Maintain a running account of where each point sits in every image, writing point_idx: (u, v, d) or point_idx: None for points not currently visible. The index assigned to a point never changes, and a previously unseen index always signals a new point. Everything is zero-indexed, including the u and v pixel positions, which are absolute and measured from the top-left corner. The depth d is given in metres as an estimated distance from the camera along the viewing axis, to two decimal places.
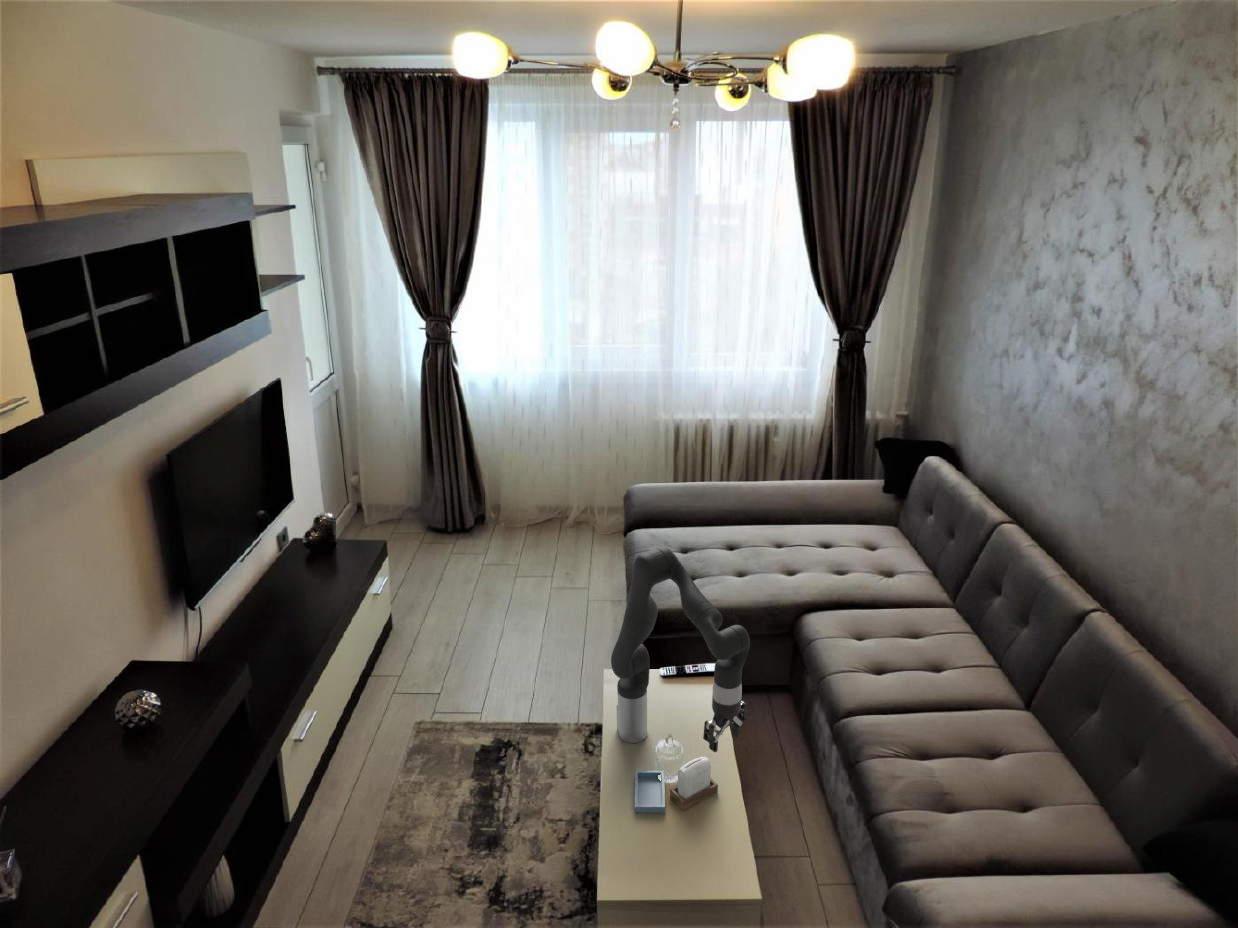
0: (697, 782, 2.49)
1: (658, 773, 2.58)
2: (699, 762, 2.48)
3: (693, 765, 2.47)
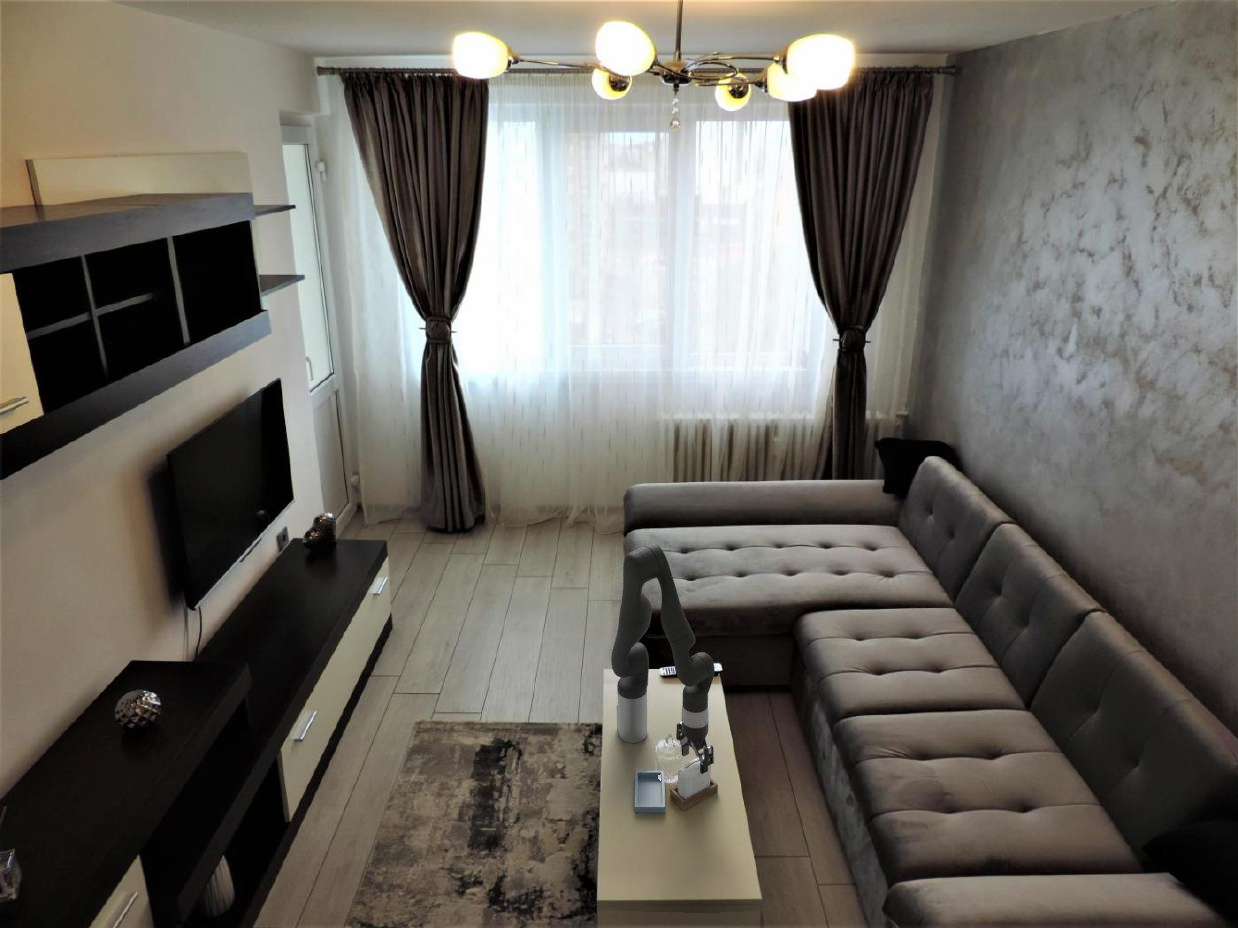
0: (697, 782, 2.49)
1: (658, 773, 2.58)
2: (699, 762, 2.48)
3: (693, 765, 2.47)
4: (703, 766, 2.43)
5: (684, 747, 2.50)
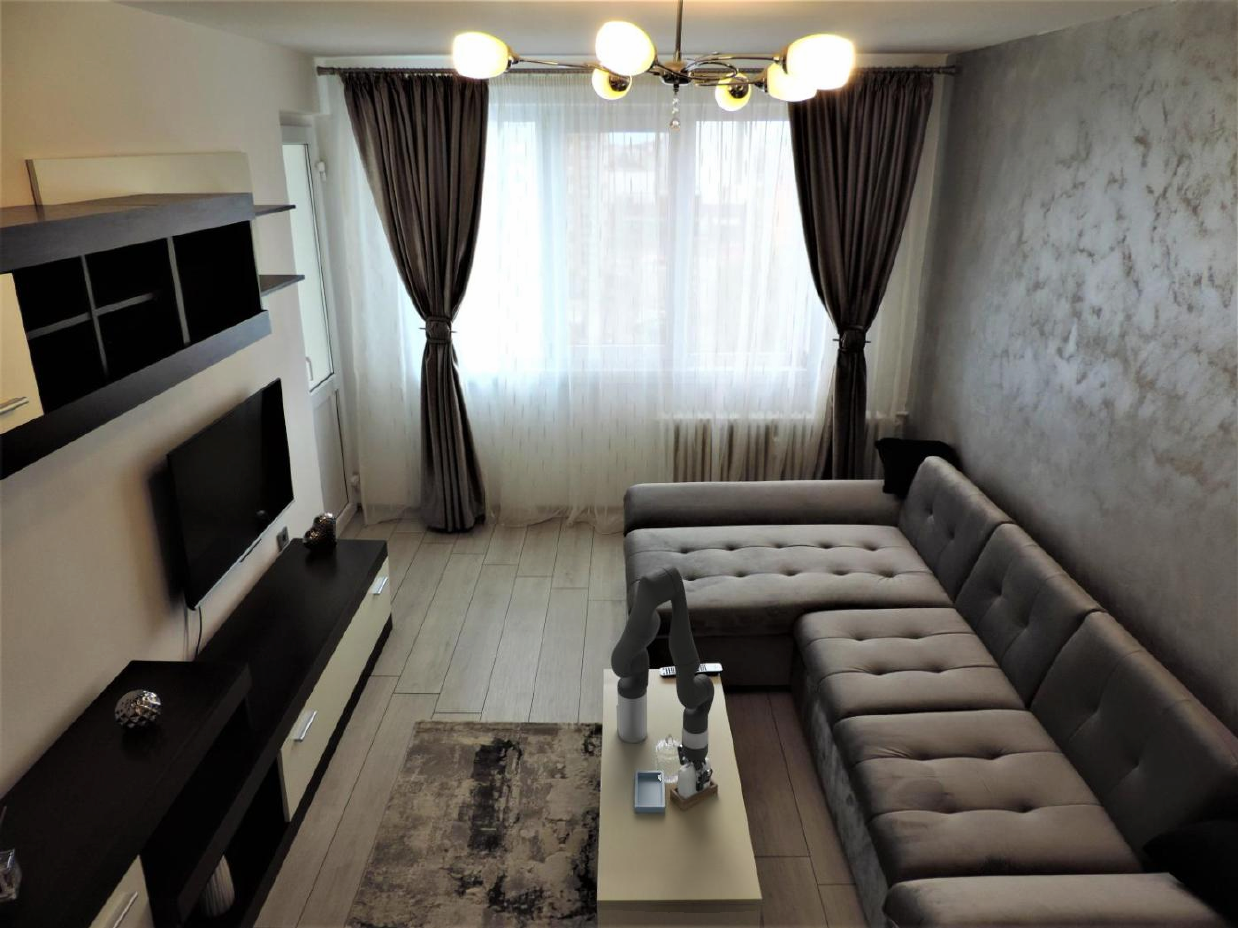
0: None
1: (658, 773, 2.58)
2: None
3: None
4: (699, 784, 2.48)
5: None
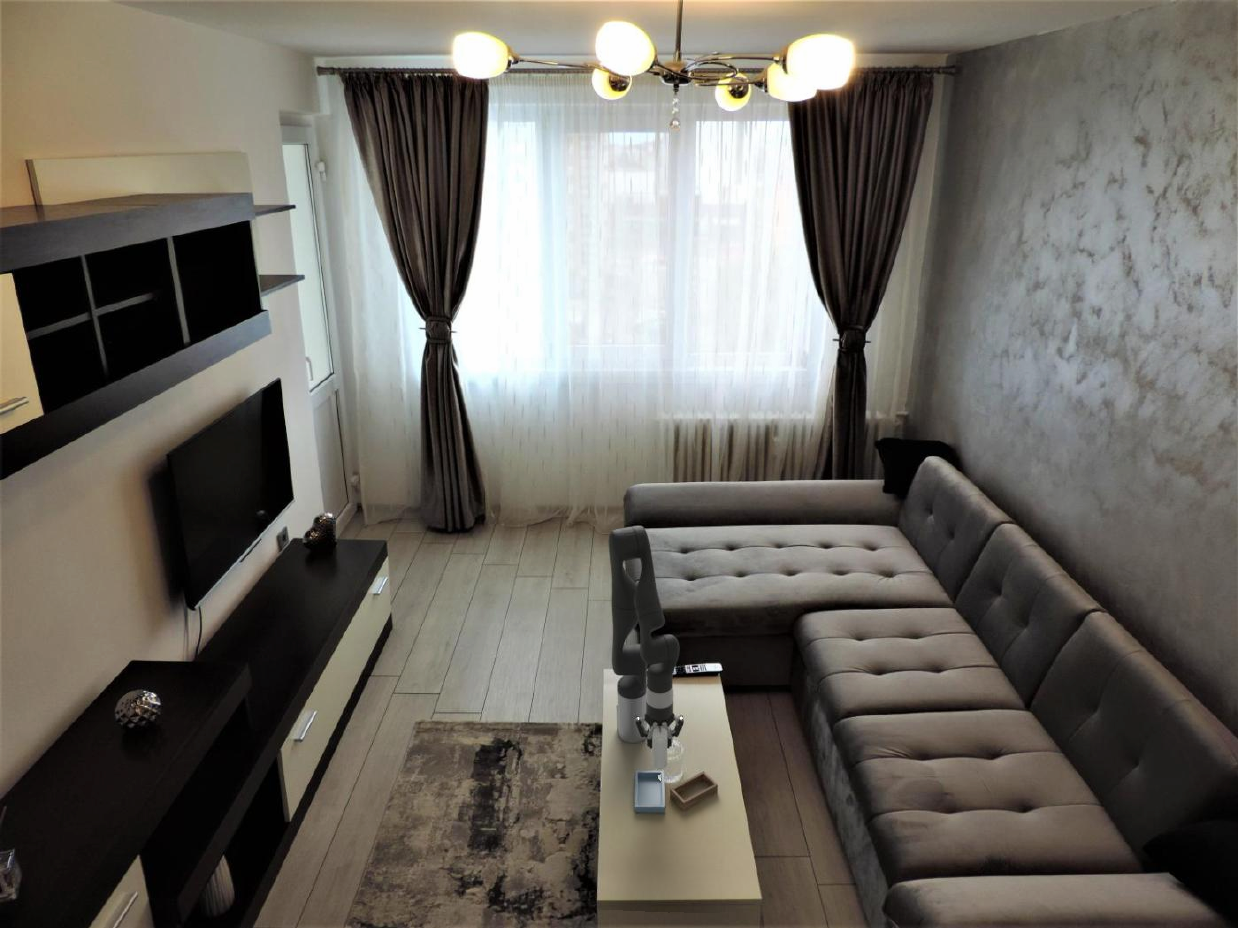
0: None
1: (658, 773, 2.58)
2: None
3: None
4: (670, 739, 2.45)
5: None
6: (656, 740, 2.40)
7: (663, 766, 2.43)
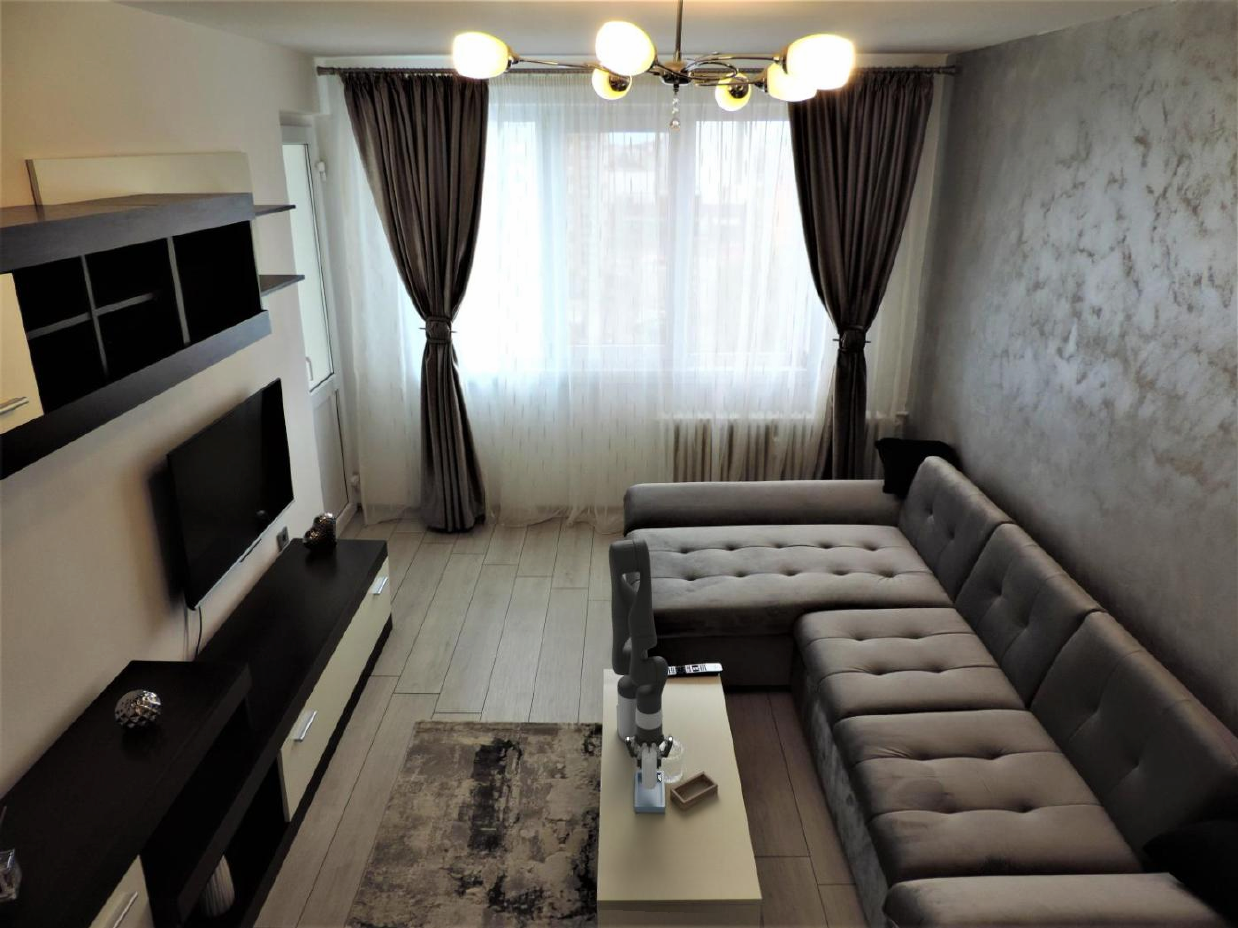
0: None
1: (658, 773, 2.58)
2: None
3: None
4: (660, 760, 2.47)
5: (641, 759, 2.48)
6: (645, 760, 2.43)
7: (652, 786, 2.46)
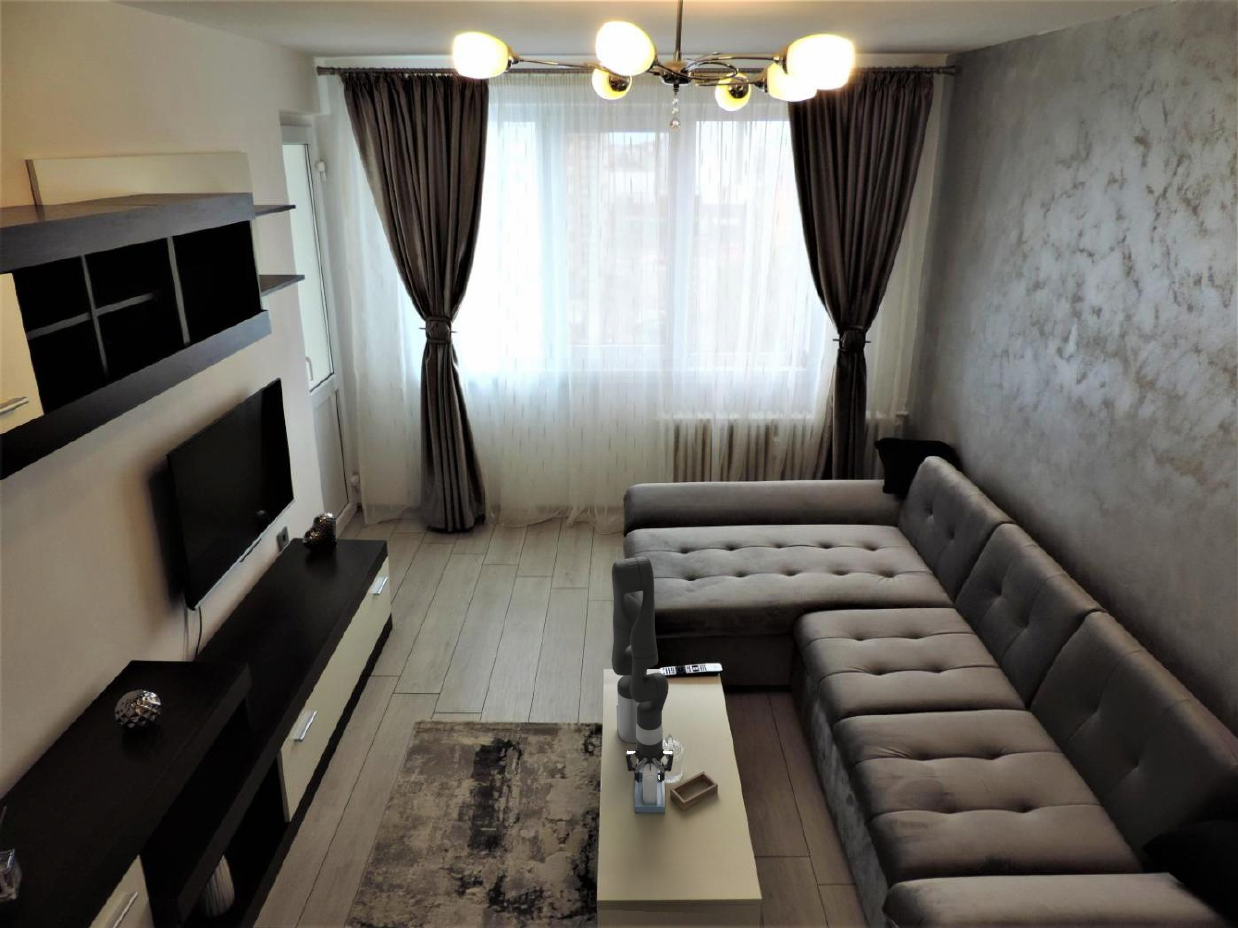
0: None
1: (658, 773, 2.58)
2: None
3: None
4: (663, 774, 2.50)
5: None
6: (646, 778, 2.45)
7: (653, 803, 2.49)
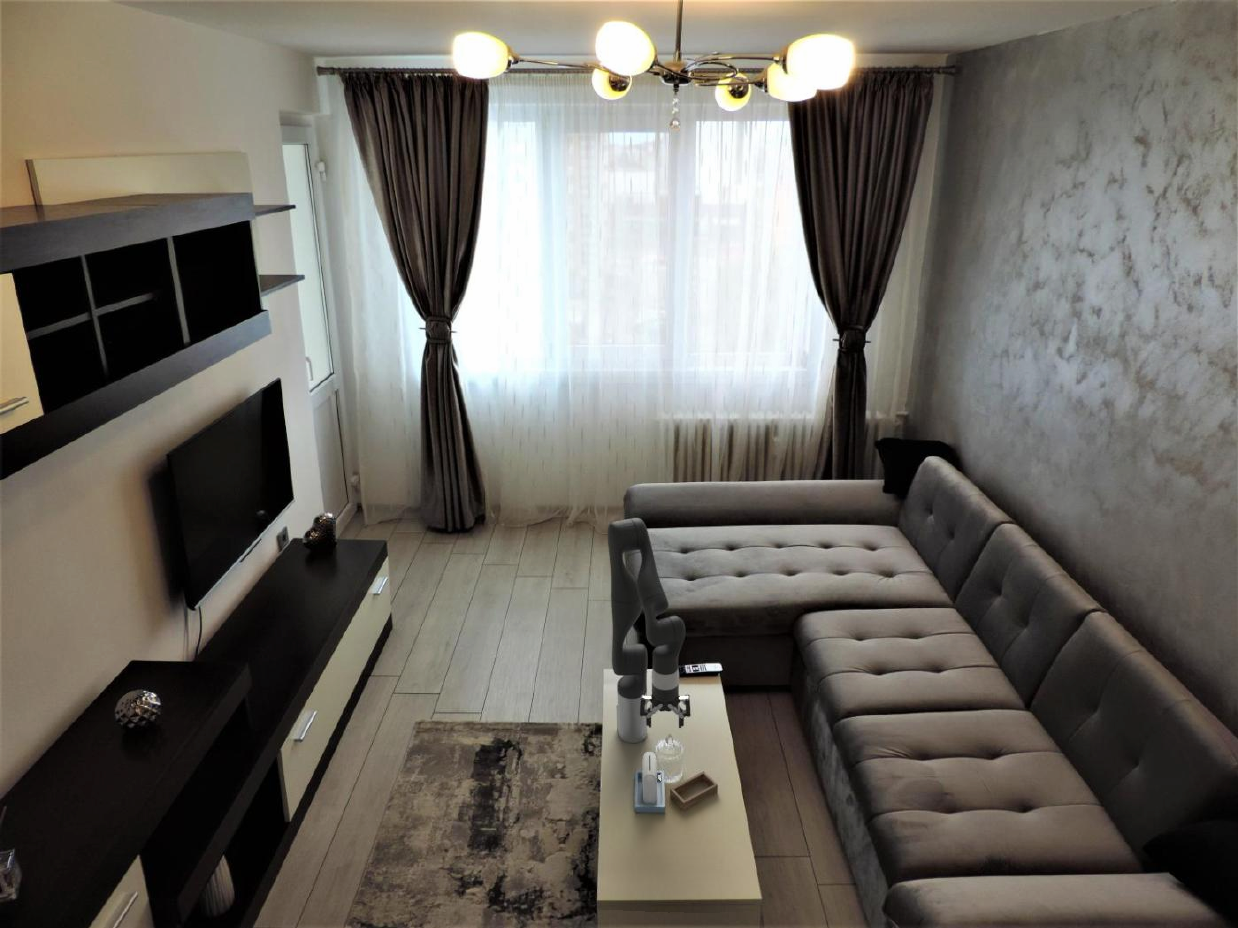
0: None
1: (658, 773, 2.58)
2: (652, 758, 2.50)
3: (652, 763, 2.48)
4: (682, 719, 2.45)
5: None
6: (646, 778, 2.45)
7: (653, 803, 2.49)
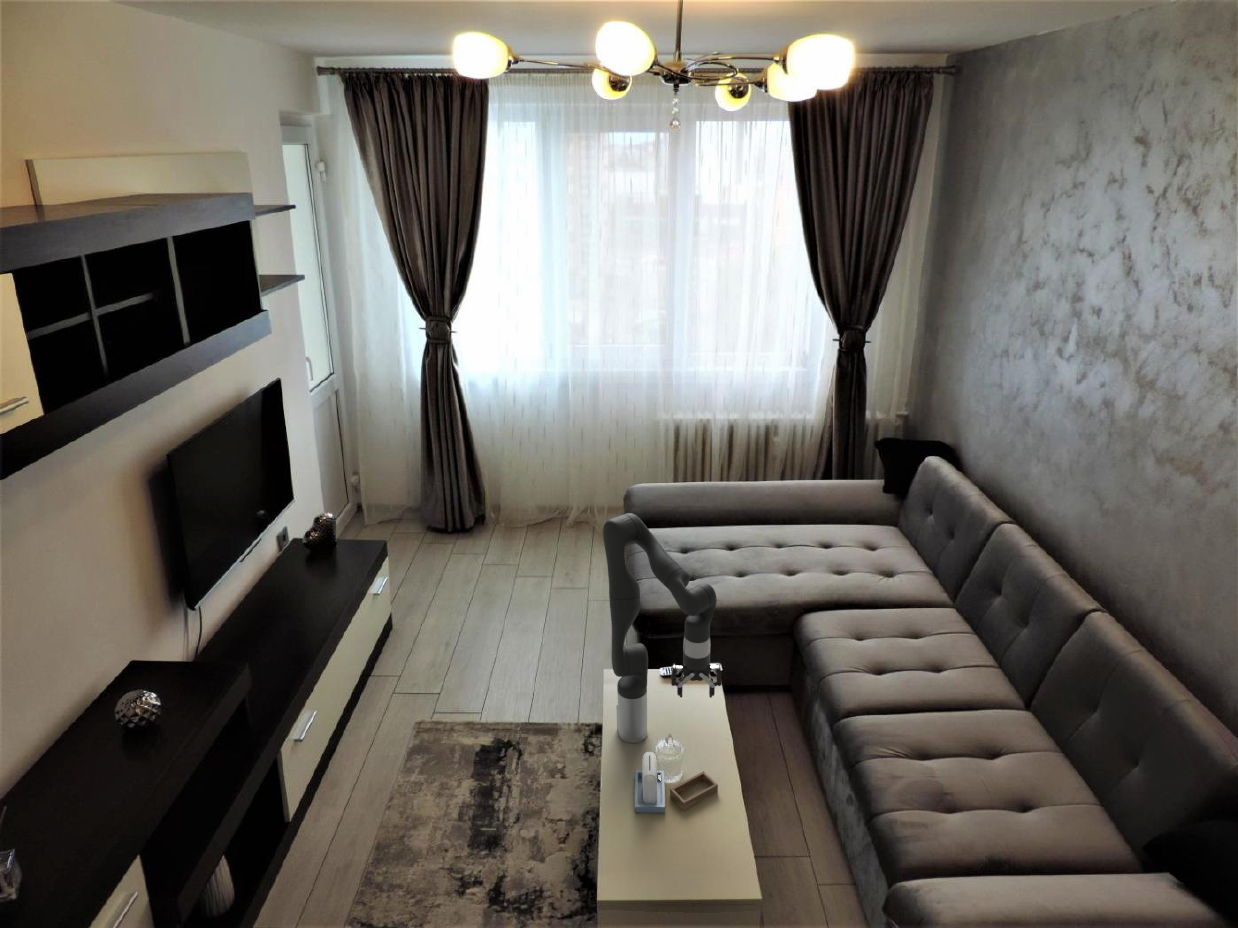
0: None
1: (658, 773, 2.58)
2: (652, 758, 2.50)
3: (652, 763, 2.48)
4: (713, 688, 2.49)
5: None
6: (646, 778, 2.45)
7: (653, 803, 2.49)
